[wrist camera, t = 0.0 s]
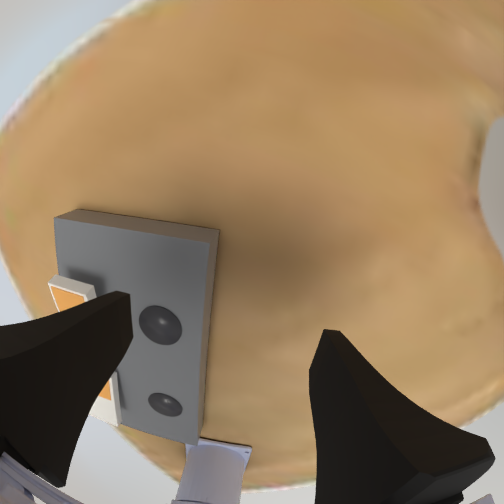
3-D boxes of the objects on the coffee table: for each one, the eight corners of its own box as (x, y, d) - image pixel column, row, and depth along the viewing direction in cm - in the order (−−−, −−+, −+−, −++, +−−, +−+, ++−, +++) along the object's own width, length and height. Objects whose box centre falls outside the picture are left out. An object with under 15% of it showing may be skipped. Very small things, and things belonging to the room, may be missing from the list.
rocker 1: (111, 344, 19) (105, 355, 18) (76, 332, 19) (70, 341, 18) (93, 285, 16) (85, 296, 15) (55, 274, 16) (46, 283, 15)
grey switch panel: (202, 425, 26) (197, 447, 23) (105, 396, 26) (95, 414, 23) (219, 230, 19) (209, 244, 16) (77, 209, 19) (52, 218, 16)
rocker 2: (122, 420, 21) (117, 427, 20) (91, 408, 21) (85, 414, 20) (116, 372, 20) (111, 378, 19) (83, 359, 20) (77, 365, 19)
